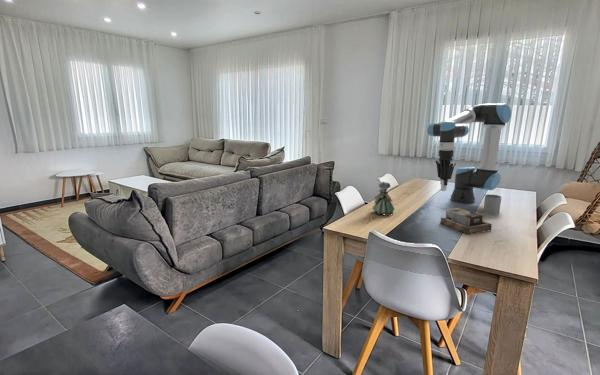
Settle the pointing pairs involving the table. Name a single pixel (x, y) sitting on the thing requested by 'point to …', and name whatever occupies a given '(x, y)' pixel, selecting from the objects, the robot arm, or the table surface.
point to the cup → (492, 204)
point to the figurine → (383, 200)
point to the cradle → (465, 229)
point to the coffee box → (464, 217)
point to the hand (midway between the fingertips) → (443, 190)
